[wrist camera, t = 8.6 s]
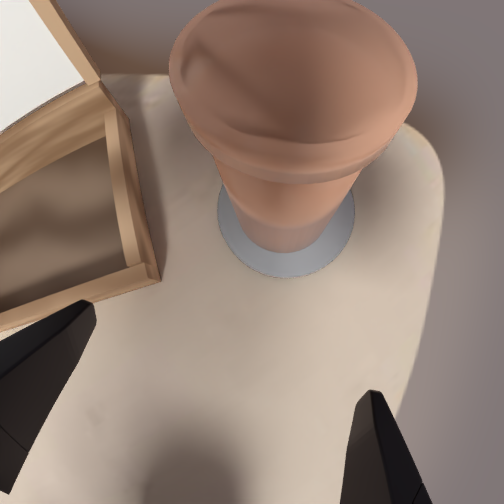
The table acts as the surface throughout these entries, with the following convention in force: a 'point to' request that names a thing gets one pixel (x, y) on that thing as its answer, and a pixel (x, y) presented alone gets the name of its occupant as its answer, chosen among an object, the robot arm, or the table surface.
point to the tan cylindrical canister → (291, 106)
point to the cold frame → (70, 208)
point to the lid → (38, 57)
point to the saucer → (287, 263)
